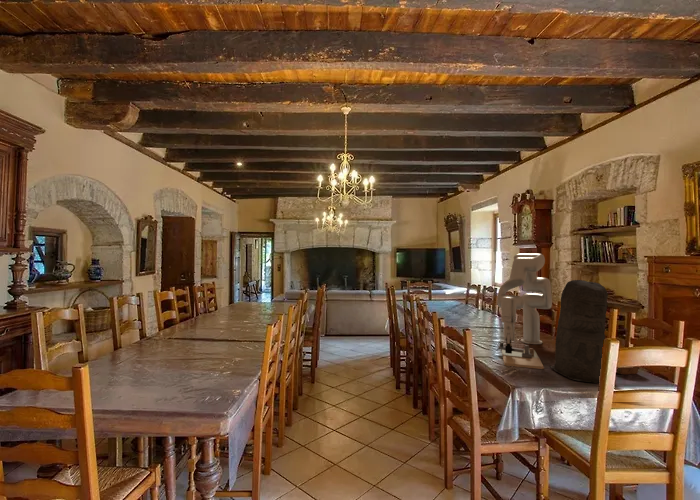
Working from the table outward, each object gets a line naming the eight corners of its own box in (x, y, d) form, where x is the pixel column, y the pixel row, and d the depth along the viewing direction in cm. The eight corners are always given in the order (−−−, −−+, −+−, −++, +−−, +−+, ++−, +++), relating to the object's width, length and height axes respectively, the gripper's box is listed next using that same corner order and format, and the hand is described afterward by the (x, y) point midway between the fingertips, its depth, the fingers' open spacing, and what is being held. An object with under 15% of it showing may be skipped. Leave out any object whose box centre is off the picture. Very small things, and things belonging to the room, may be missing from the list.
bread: (639, 374, 176) (639, 353, 176) (619, 375, 175) (619, 354, 175) (608, 363, 194) (608, 344, 194) (589, 364, 193) (589, 344, 193)
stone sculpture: (557, 382, 168) (567, 284, 163) (548, 365, 187) (557, 276, 183) (619, 392, 160) (631, 289, 156) (603, 373, 180) (614, 281, 175)
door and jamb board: (501, 349, 222) (501, 336, 222) (534, 352, 216) (534, 339, 216) (504, 365, 190) (504, 350, 190) (543, 369, 184) (543, 353, 184)
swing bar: (524, 352, 203) (524, 345, 203) (523, 352, 201) (523, 346, 202) (499, 348, 211) (499, 342, 211) (498, 349, 209) (498, 342, 209)
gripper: (516, 321, 196) (516, 356, 196) (516, 318, 210) (516, 350, 209) (500, 320, 199) (500, 355, 199) (501, 317, 213) (501, 349, 212)
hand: (508, 352), depth 204 cm, fingers closed
